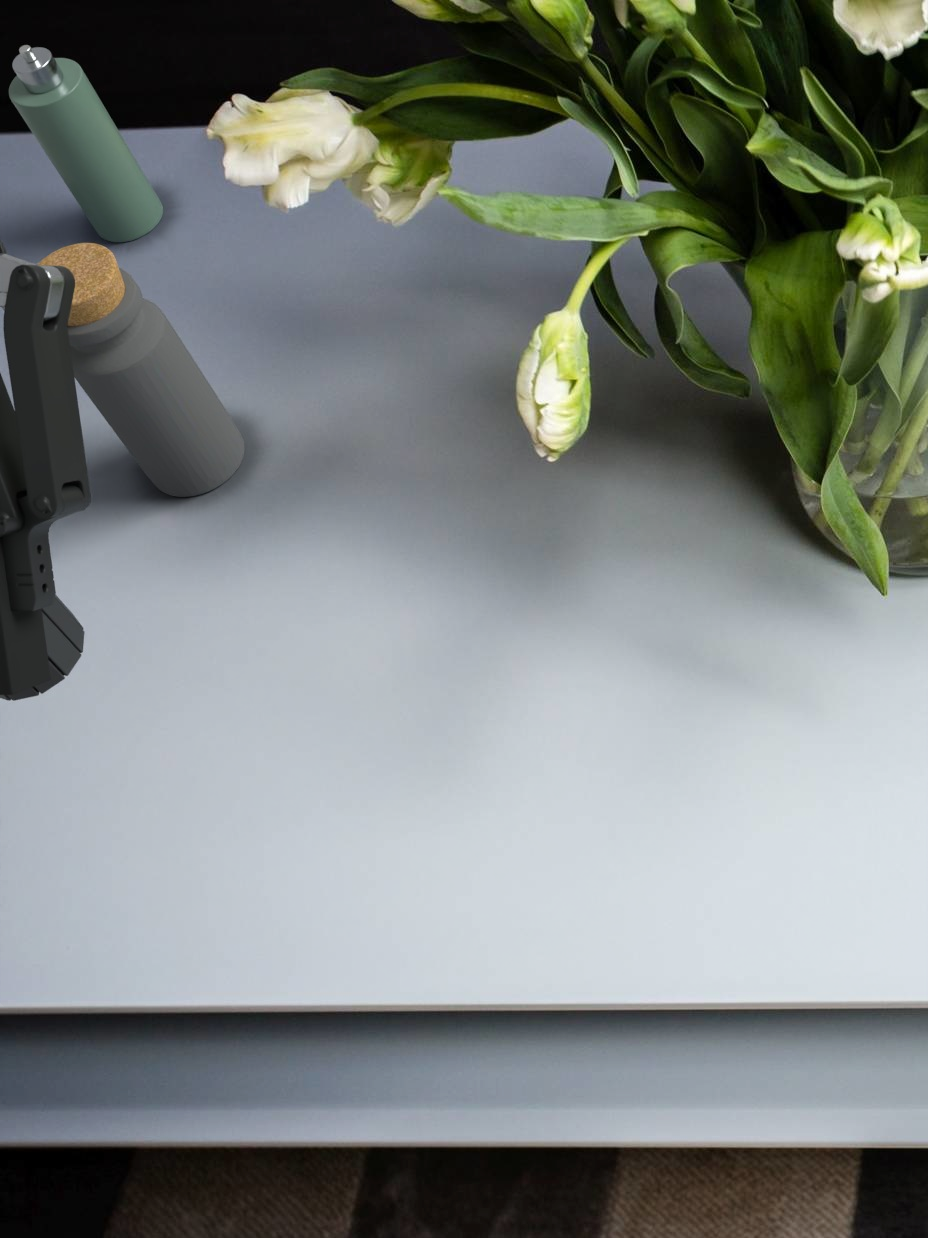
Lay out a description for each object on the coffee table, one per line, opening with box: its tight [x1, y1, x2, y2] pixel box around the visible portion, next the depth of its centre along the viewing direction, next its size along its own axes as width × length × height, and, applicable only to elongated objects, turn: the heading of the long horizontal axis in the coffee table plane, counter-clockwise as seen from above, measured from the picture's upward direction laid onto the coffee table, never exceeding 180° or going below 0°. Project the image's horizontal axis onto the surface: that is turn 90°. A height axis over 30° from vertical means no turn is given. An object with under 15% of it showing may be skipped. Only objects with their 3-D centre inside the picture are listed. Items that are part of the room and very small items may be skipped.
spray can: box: [8, 44, 164, 243], centre depth 104 cm, size 5×5×13 cm
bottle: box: [36, 242, 246, 498], centre depth 91 cm, size 6×6×15 cm
